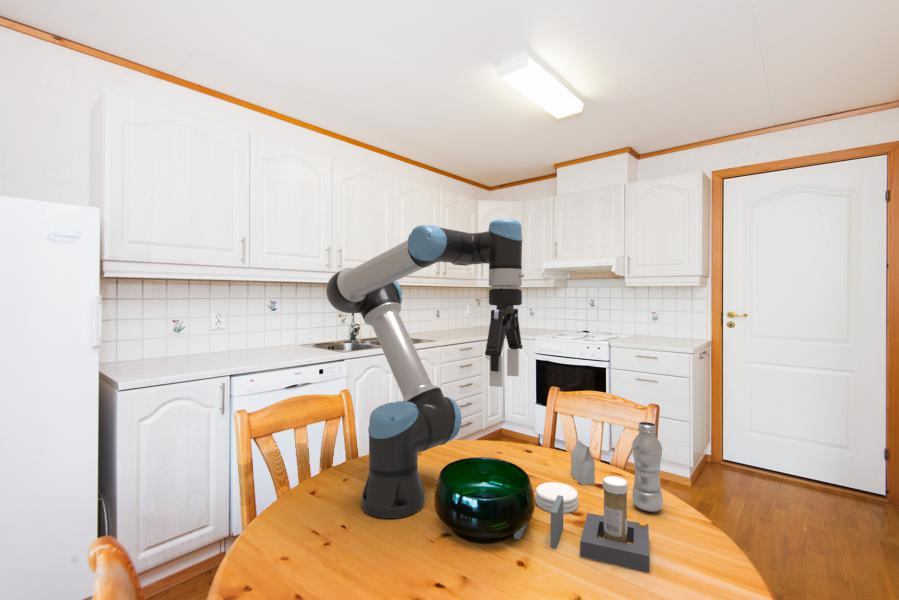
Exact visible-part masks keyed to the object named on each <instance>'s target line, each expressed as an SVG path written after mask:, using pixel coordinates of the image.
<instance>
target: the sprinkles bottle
mask: <svg viewBox="0 0 899 600" xmlns="http://www.w3.org/2000/svg"><path fill="white" fill-rule="evenodd" d="M602 488H603V516H604V536H603V539H608V540H612V541H617V542H622V543H626V544H628V541H627V520H628V500H627V499H628V497H627V495H628V491H629V489H628V488H629V487H628V482H627V480H626V479H624V478H622V477H620V476H616V475H615V476H614V475H611V476H610V475H609V476H605V477H604V478H603V479H602Z"/></svg>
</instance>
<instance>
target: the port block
mask: <svg viewBox="0 0 899 600" xmlns="http://www.w3.org/2000/svg"><path fill="white" fill-rule="evenodd" d="M649 534H650V531H649V524H647V523H645V522H638V521H637V522H636V521H632V520H628V519H627V544H626V543H622V542H617V541H612V540H608V539H604V515H602V514H601V515H600V514H595V513H589V512H587V513H586V518H585V521H584V525H583V530H582V534H581V538H580V541H579V542H580V548H579V549H580V558H585V559H588V560H593V561H597V562H602V563H605V564H609V565H614V566H617V567H618V566H619V567H623V568H626V569H631V570H636V571H639V572H644V573H647V574H648V573H649V574H650V535H649ZM601 537H602V538H601ZM628 542H629V543H633V544H629V543H628Z"/></svg>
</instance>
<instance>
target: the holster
mask: <svg viewBox="0 0 899 600" xmlns="http://www.w3.org/2000/svg"><path fill="white" fill-rule="evenodd" d="M527 526H528V524H527V525H526V526H524V527H523V528H521V529H520V530H519V531H517V532H516V533H515V534H514V533H513V539H515V540H521V538H522V535H523V534H524V532H525V531H526V528H527ZM563 531H564V514H563V496H560V495H558V496H557V498H556V500H555V503H554V505H553V507H552V510H551V512H550V548H554V549H558V545H559V542H560V541H561V536H562V533H563Z"/></svg>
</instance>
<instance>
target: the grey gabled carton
mask: <svg viewBox="0 0 899 600" xmlns="http://www.w3.org/2000/svg"><path fill="white" fill-rule="evenodd" d="M595 466H596V463H595V460H594V458H593V455H592V454H591V450H590V447H589V446H588V445H587V444H586V443H584V442H582V440H580V439H576V442H575V445H574V447H573V449H572V451H571V453H570V475H572V476H573V477H572V476H571V477H572V478H574V480H575V481H577V482H578V484H580V486H593V485H595V484H596V483H595V482H596V480H595V479H596V478H595V477H596V476H595V474H596V473H595V472H596V471H595V469H596V467H595Z"/></svg>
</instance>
